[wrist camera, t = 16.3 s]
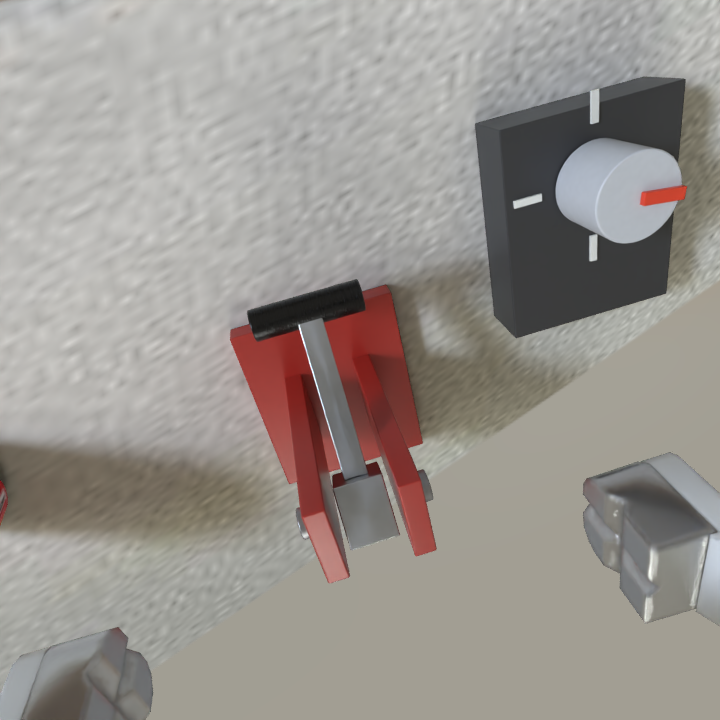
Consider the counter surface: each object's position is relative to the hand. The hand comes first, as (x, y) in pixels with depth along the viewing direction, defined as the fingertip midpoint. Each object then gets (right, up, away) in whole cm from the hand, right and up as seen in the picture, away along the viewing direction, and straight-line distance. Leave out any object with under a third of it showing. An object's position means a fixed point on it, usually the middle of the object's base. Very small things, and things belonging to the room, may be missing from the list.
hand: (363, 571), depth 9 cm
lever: (-1, +1, +16) cm, 16 cm away
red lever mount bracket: (-2, +2, +23) cm, 23 cm away
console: (+11, +12, +20) cm, 26 cm away
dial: (+11, +12, +17) cm, 24 cm away
